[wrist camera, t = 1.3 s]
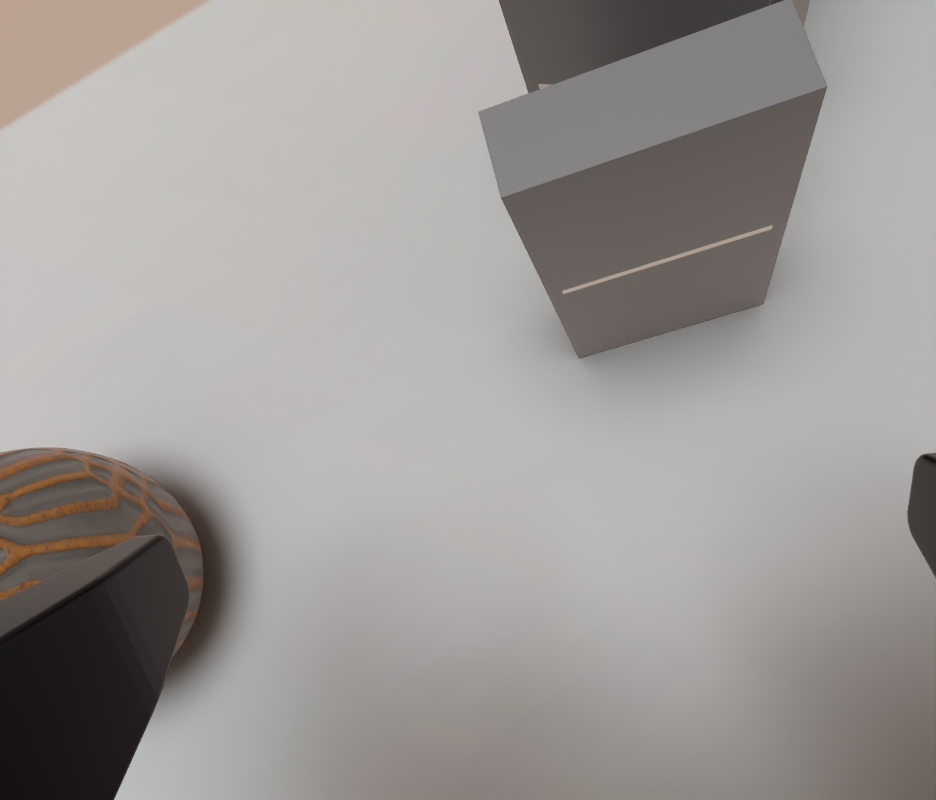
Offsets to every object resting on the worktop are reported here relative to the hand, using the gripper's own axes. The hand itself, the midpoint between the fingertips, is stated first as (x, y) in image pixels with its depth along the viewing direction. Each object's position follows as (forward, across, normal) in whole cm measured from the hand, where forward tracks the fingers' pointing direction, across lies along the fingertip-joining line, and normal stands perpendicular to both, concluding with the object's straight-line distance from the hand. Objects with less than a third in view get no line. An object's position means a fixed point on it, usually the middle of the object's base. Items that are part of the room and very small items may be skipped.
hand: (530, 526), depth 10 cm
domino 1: (+13, +4, -3) cm, 14 cm away
